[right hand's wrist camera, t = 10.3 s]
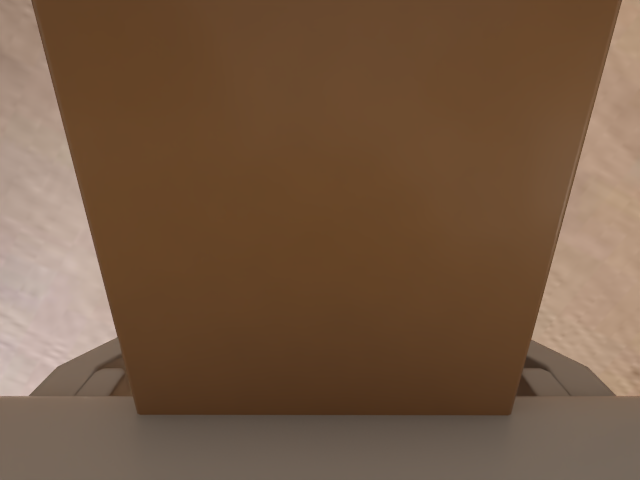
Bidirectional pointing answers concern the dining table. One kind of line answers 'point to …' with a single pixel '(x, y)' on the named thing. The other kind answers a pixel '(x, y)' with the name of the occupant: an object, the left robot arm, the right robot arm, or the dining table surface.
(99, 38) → the bar
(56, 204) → the dining table surface
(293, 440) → the right robot arm
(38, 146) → the dining table surface
